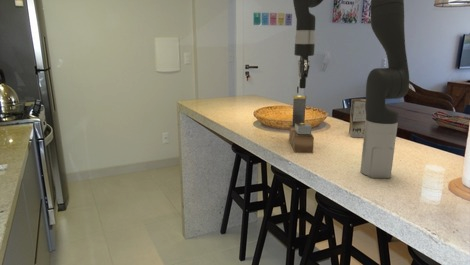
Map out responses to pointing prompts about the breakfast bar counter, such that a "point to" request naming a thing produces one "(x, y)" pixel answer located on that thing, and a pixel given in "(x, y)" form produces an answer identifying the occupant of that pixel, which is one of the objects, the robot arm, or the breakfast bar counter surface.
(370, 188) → the breakfast bar counter surface
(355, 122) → the coffee box
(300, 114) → the lever
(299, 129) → the grey rectangular block
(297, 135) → the body
